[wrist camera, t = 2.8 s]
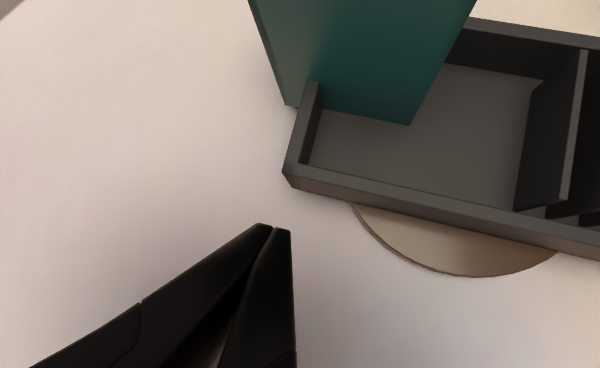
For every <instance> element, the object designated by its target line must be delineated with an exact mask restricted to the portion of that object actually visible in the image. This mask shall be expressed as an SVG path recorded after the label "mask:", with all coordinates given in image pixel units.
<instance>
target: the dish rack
mask: <svg viewBox="0 0 600 368" xmlns="http://www.w3.org/2000/svg"><path fill="white" fill-rule="evenodd" d="M476 1H477V0H248V3H249V6H250V9H251V11H252V14H253V17H254V20H255V22H256V25H257V28H258V31H259V34H260V36H261V39H262V42H263V45H264V47H265V50H266V53H267V56H268V59H269V61H270V64H271V67H272V70H273V72H274V75H275V78H276V81H277V84H278V86H279V89H280V92H281V95H282V97H283V100H284V103H285V105H289V106H294V107H298V108H299V109H298V113H297V117H296V120H295V124H294V128H293V131H292V135H291V139H290V142H289V146H288V150H287V153H286V157H285V161H284V164H283V168H282V174H283V175H284V177H285V178H286V179H287V181H288V182H289V184H290V185H291V187H292V188H295V189H299V190H304V191H308V192H312V193H316V194H320V195H324V196H329V197H333V198H337V199H341V200H345V201H350V202H354V203H358V204H362V205H366V206H370V207H375V208H379V209H383V210H387V211H391V212H395V213H400V214H404V215H408V216H412V217H416V218H420V219H425V220H429V221H433V222H437V223H441V224H446V225H450V226H454V227H458V228H462V229H466V230H471V231H475V232H479V233H483V234H487V235H491V236H496V237H500V238H504V239H508V240H512V241H517V242H521V243H525V244H529V245H533V246H537V247H542V248H546V249H550V250H554V251H558V252H562V253H567V254H571V255H575V256H579V257H583V258H587V259H592V260H596V261H600V37H595V36H589V35H583V34H576V33H570V32H563V31H557V30H551V29H544V28H538V27H531V26H525V25H519V24H512V23H506V22H500V21H493V20H487V19H480V18H474V17H468V16H469V14H470V13H471V11H472V9H473V7H474V5H475V3H476Z"/></svg>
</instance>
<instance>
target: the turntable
mask: <svg viewBox="0 0 600 368" xmlns="http://www.w3.org/2000/svg"><path fill="white" fill-rule="evenodd" d="M349 203H350V205H351V207H352V209H353V211H354V212H355V214H356V215H357V217H358V218H359V219H360V221H361V222H362V224H363V225H364V226H365V227H366V228H367V230H368V231H369V232H370V233H371V234H372V235H373V236H374V237H375V238H376V239H377V240H378V241H379V242H381V243H382V244H383V245H384V246H385V247H386V248H388V249H389V250H391V251H392V252H394V253H395V254H397V255H398V256H400V257H401V258H403V259H405V260H407V261H409V262H411V263H413V264H415V265H417V266H420V267H423V268H426V269H428V270H431V271H434V272H439V273H443V274H448V275H453V276H461V277H472V278H481V277H497V276H502V275H508V274H513V273H516V272H520V271H523V270H526V269H529V268H531V267H534V266H536V265H538V264H540V263H542V262H544V261H546V260H548V259H549V258H551V257H552V256H554V255H555V254H557V253H558V251H554V250H550V249H546V248H542V247H537V246H533V245H529V244H525V243H521V242H517V241H512V240H508V239H504V238H500V237H496V236H491V235H487V234H483V233H479V232H475V231H471V230H466V229H462V228H458V227H454V226H450V225H446V224H441V223H437V222H433V221H429V220H425V219H420V218H416V217H412V216H408V215H404V214H400V213H395V212H391V211H387V210H383V209H379V208H375V207H370V206H366V205H362V204H358V203H354V202H350V201H349Z"/></svg>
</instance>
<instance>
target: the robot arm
mask: <svg viewBox="0 0 600 368" xmlns="http://www.w3.org/2000/svg"><path fill="white" fill-rule="evenodd" d="M29 368H297V352H296V335H295V315H294V294H293V274H292V253H291V234H290V231H289V230H286V229H282V228H278V227H275V228H273V227H272V226H270V225H266V224H263V223H256V224H255V225H253V226H252V227H250V228H249V229H247V230H246V231H244V232H243V233H241V234H240V235H238V236H237V237H235V238H234V239H232V240H231V241H229V242H228V243H226V244H225V245H223V246H222V247H220V248H219V249H217V250H216V251H214V252H213V253H211V254H210V255H208V256H207V257H206V258H204V259H203V260H201V261H200V262H198V263H197V264H195V265H194V266H192V267H191V268H189V269H188V270H186V271H185V272H183V273H182V274H180V275H179V276H177V277H176V278H174V279H173V280H171V281H170V282H168V283H167V284H165V285H164V286H162V287H161V288H159V289H158V290H156V291H155V292H153V293H152V294H150V295H149V296H147V297H146V298H144V299H143V300H142V301H141V303H137V304H135V305H134V306H132V307H131V308H129V309H128V310H126V311H125V312H123V313H122V314H120V315H119V316H117V317H116V318H114V319H112V320H111V321H109V322H108V323H106V324H105V325H103V326H102V327H100V328H98V329H97V330H95V331H93V332H91V333H90V334H88V335H86V336H85V337H83V338H81V339H79V340H78V341H76V342H74V343H72V344H71V345H69V346H67V347H65V348H64V349H62V350H60V351H58V352H56V353H55V354H53V355H51V356H49V357H47V358H46V359H44V360H42V361H40V362H38V363H36V364H35V365H33V366H31V367H29Z"/></svg>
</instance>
